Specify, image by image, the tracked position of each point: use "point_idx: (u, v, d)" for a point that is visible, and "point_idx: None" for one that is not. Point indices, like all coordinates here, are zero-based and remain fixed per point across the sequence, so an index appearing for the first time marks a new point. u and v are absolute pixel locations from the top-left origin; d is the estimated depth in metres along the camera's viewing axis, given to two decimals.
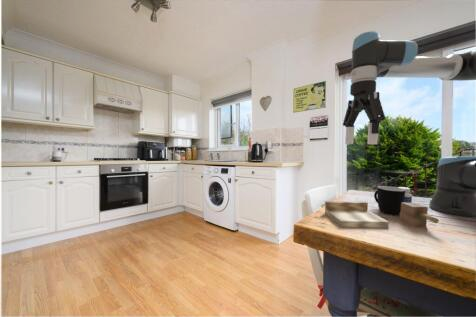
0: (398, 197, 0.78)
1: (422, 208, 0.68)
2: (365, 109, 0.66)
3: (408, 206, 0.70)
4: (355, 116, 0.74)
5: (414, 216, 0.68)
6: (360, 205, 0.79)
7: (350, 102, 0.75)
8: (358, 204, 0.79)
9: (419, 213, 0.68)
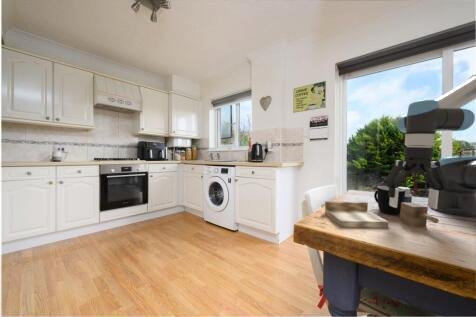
0: (398, 197, 0.78)
1: (422, 208, 0.68)
2: None
3: (408, 206, 0.70)
4: (428, 178, 0.69)
5: (414, 216, 0.68)
6: (360, 205, 0.79)
7: None
8: (358, 204, 0.79)
9: (419, 213, 0.68)
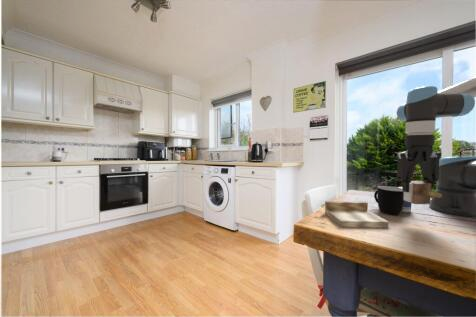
0: (398, 197, 0.78)
1: (425, 185, 0.67)
2: None
3: None
4: (424, 168, 0.69)
5: (417, 193, 0.68)
6: (360, 205, 0.79)
7: None
8: (358, 204, 0.79)
9: (422, 190, 0.67)
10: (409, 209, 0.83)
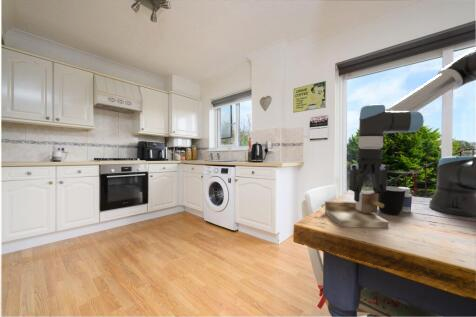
0: (398, 197, 0.78)
1: (373, 195, 0.73)
2: None
3: None
4: (373, 180, 0.75)
5: (365, 203, 0.73)
6: None
7: None
8: None
9: (370, 200, 0.72)
10: (409, 209, 0.83)
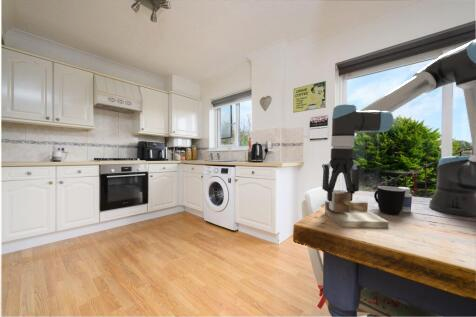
0: (398, 197, 0.78)
1: (345, 194, 0.73)
2: None
3: None
4: (346, 179, 0.75)
5: (337, 202, 0.73)
6: (360, 205, 0.79)
7: None
8: (358, 204, 0.79)
9: (342, 199, 0.73)
10: (409, 209, 0.83)
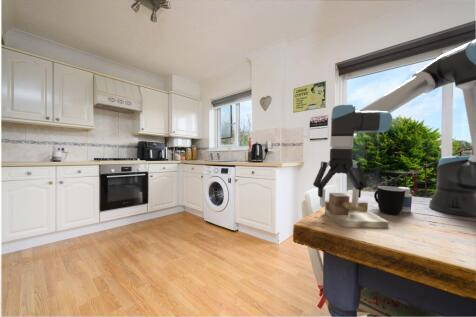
0: (398, 197, 0.78)
1: (344, 197, 0.73)
2: None
3: (333, 196, 0.75)
4: (350, 178, 0.75)
5: (337, 205, 0.73)
6: (360, 205, 0.79)
7: None
8: (358, 204, 0.79)
9: (341, 202, 0.73)
10: (409, 209, 0.83)
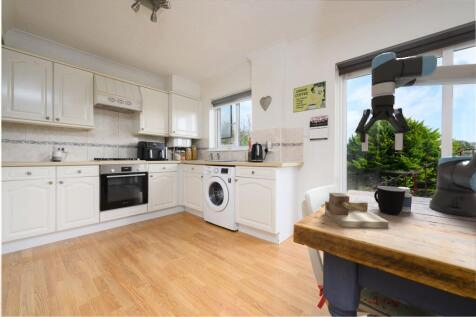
0: (398, 197, 0.78)
1: (344, 197, 0.73)
2: None
3: (333, 196, 0.75)
4: (393, 124, 0.79)
5: (337, 205, 0.73)
6: (360, 205, 0.79)
7: None
8: (358, 204, 0.79)
9: (341, 202, 0.73)
10: (409, 209, 0.83)
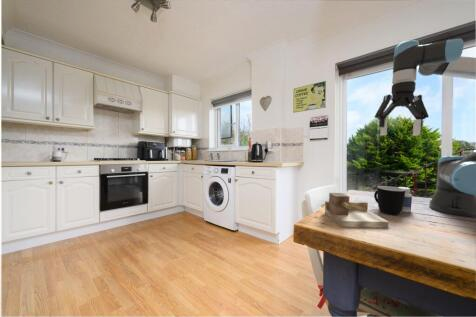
0: (398, 197, 0.78)
1: (344, 197, 0.73)
2: None
3: (333, 196, 0.75)
4: (412, 110, 0.82)
5: (337, 205, 0.73)
6: (360, 205, 0.79)
7: None
8: (358, 204, 0.79)
9: (341, 202, 0.73)
10: (409, 209, 0.83)
